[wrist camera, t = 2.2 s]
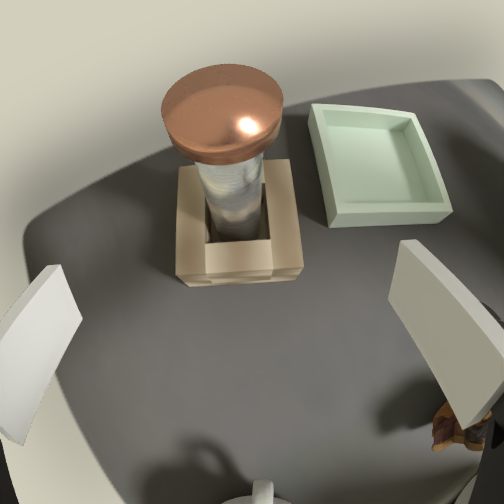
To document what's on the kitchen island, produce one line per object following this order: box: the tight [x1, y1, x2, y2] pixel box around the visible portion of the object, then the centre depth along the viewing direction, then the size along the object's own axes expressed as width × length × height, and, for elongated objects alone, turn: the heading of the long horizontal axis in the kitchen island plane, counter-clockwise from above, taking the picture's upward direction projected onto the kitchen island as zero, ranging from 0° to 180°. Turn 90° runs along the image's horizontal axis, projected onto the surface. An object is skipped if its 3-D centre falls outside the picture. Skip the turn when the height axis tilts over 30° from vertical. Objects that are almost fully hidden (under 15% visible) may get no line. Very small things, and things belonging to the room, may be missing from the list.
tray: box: [307, 104, 453, 228], centre depth 29 cm, size 14×14×4 cm
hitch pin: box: [161, 64, 283, 243], centre depth 20 cm, size 6×6×17 cm
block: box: [176, 159, 304, 287], centre depth 26 cm, size 10×10×5 cm
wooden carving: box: [432, 401, 493, 451], centre depth 18 cm, size 16×5×10 cm, turn 107°
